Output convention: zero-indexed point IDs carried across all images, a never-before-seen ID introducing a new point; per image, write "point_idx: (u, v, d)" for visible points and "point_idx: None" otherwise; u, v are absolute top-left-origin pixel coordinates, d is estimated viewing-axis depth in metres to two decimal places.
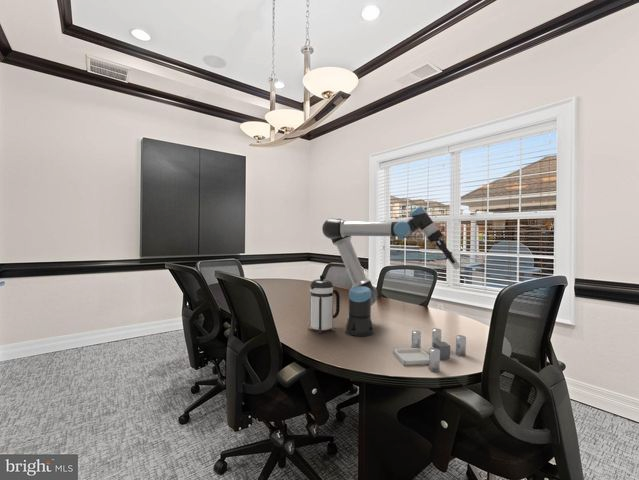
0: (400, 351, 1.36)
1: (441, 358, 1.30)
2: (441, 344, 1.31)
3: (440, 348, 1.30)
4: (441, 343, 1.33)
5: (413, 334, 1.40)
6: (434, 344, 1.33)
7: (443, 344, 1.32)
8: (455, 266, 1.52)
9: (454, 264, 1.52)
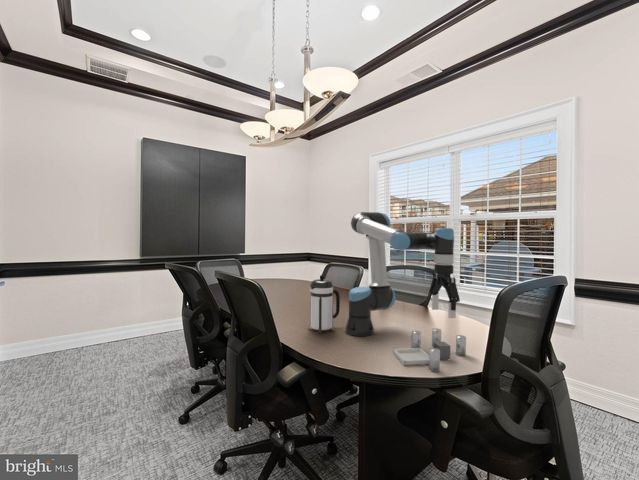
0: (400, 351, 1.36)
1: (441, 358, 1.30)
2: (441, 344, 1.31)
3: (440, 348, 1.30)
4: (441, 343, 1.33)
5: (413, 334, 1.40)
6: (434, 344, 1.33)
7: (443, 344, 1.32)
8: (451, 314, 1.25)
9: (451, 311, 1.25)
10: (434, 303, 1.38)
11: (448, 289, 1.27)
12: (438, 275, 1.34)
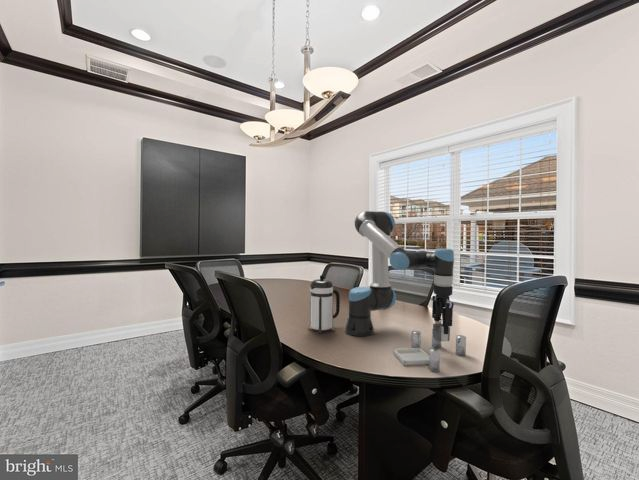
0: (400, 351, 1.36)
1: (440, 339, 1.30)
2: None
3: (440, 329, 1.30)
4: None
5: (413, 334, 1.40)
6: (434, 326, 1.33)
7: None
8: (443, 337, 1.29)
9: (444, 335, 1.29)
10: None
11: (444, 312, 1.29)
12: (437, 294, 1.34)
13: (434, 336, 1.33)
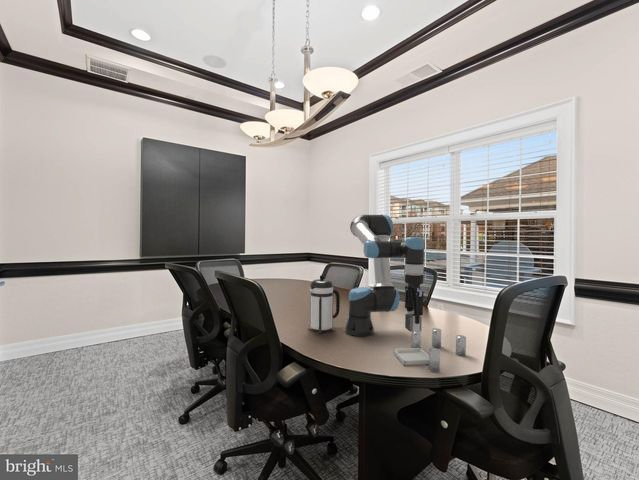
0: (400, 351, 1.36)
1: (412, 329, 1.28)
2: None
3: (411, 319, 1.27)
4: None
5: (413, 334, 1.40)
6: (406, 316, 1.31)
7: None
8: (415, 327, 1.27)
9: (415, 325, 1.27)
10: None
11: (415, 302, 1.27)
12: (408, 284, 1.32)
13: (406, 326, 1.31)
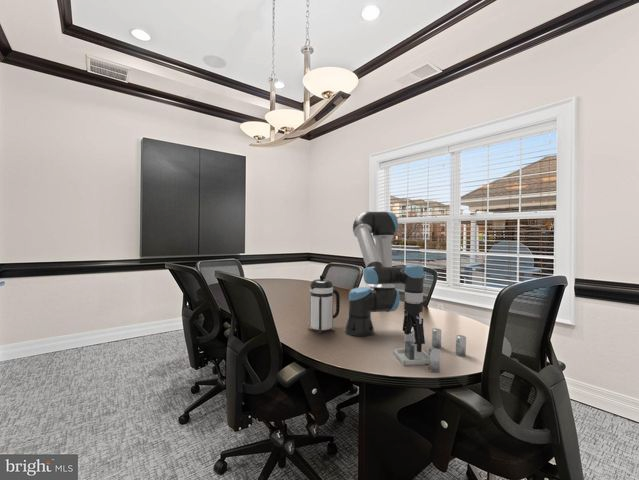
0: (400, 351, 1.36)
1: (411, 358, 1.28)
2: (412, 344, 1.29)
3: (410, 348, 1.28)
4: (412, 342, 1.31)
5: (413, 334, 1.40)
6: (406, 344, 1.32)
7: (414, 344, 1.30)
8: (417, 355, 1.25)
9: (417, 353, 1.25)
10: None
11: (415, 329, 1.26)
12: (408, 311, 1.33)
13: (406, 354, 1.31)
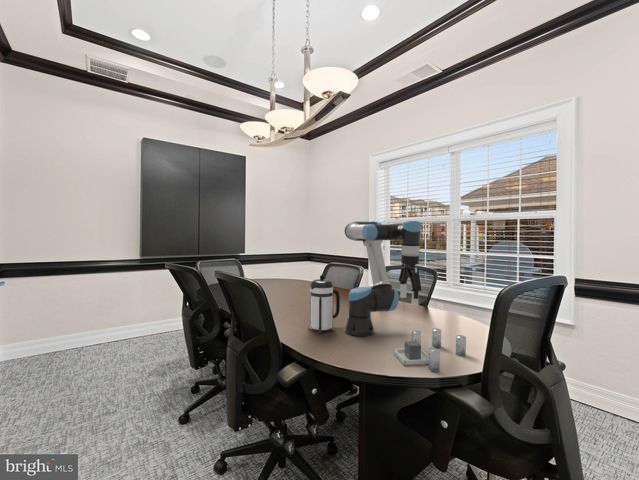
0: (400, 351, 1.36)
1: (411, 358, 1.28)
2: (412, 344, 1.29)
3: (410, 348, 1.28)
4: (412, 342, 1.31)
5: (413, 334, 1.40)
6: (406, 344, 1.32)
7: (414, 344, 1.30)
8: (414, 302, 1.33)
9: (414, 300, 1.32)
10: (402, 292, 1.46)
11: (412, 279, 1.34)
12: (405, 265, 1.41)
13: (406, 354, 1.31)
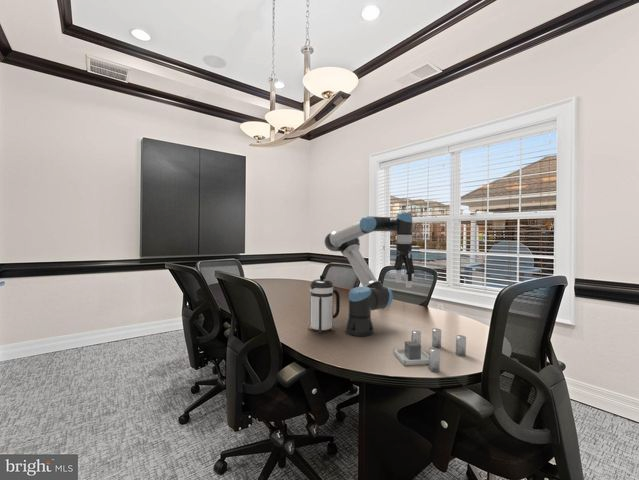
0: (400, 351, 1.36)
1: (411, 358, 1.28)
2: (412, 344, 1.29)
3: (410, 348, 1.28)
4: (412, 342, 1.31)
5: (413, 334, 1.40)
6: (406, 344, 1.32)
7: (414, 344, 1.30)
8: (408, 284, 1.49)
9: (408, 282, 1.49)
10: (397, 277, 1.63)
11: (406, 263, 1.51)
12: (400, 253, 1.58)
13: (406, 354, 1.31)
